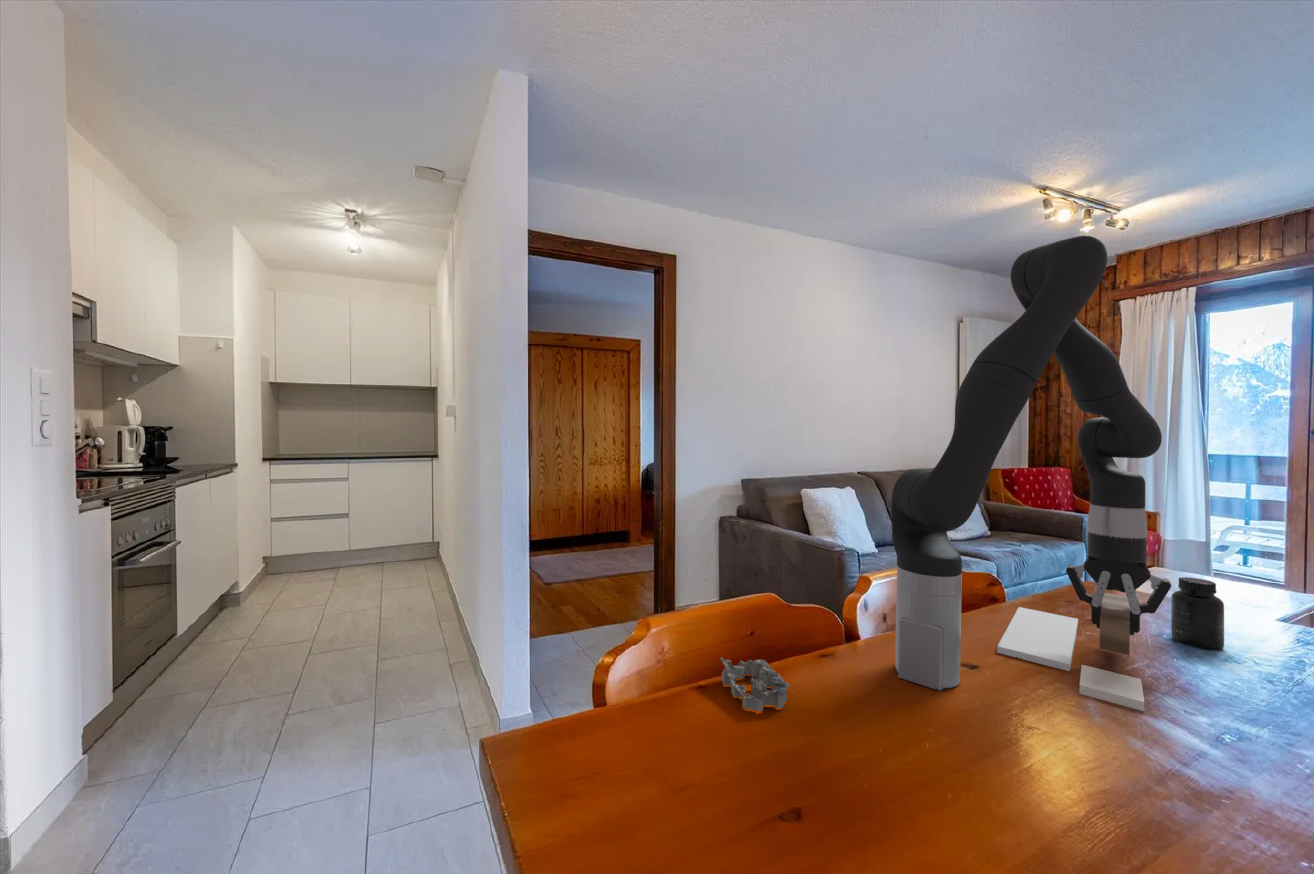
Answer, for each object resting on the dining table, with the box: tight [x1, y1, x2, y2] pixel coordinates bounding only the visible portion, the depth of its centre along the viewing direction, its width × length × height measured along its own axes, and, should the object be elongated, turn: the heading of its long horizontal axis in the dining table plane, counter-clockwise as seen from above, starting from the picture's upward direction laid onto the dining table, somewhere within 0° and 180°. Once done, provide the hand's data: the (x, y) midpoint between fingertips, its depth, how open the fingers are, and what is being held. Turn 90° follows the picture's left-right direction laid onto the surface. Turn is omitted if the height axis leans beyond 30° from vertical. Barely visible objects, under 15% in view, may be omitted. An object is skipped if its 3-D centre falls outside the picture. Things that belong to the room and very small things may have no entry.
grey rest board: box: [996, 606, 1079, 672], centre depth 95 cm, size 28×10×1 cm, turn 137°
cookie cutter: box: [719, 656, 792, 712], centre depth 74 cm, size 11×8×4 cm
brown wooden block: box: [1099, 592, 1131, 656], centre depth 86 cm, size 18×4×5 cm, turn 137°
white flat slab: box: [1078, 664, 1145, 712], centre depth 76 cm, size 2×7×9 cm
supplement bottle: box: [1170, 576, 1225, 651], centre depth 94 cm, size 7×7×12 cm
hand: (1115, 630), depth 86 cm, fingers closed on brown wooden block, 3 cm apart
